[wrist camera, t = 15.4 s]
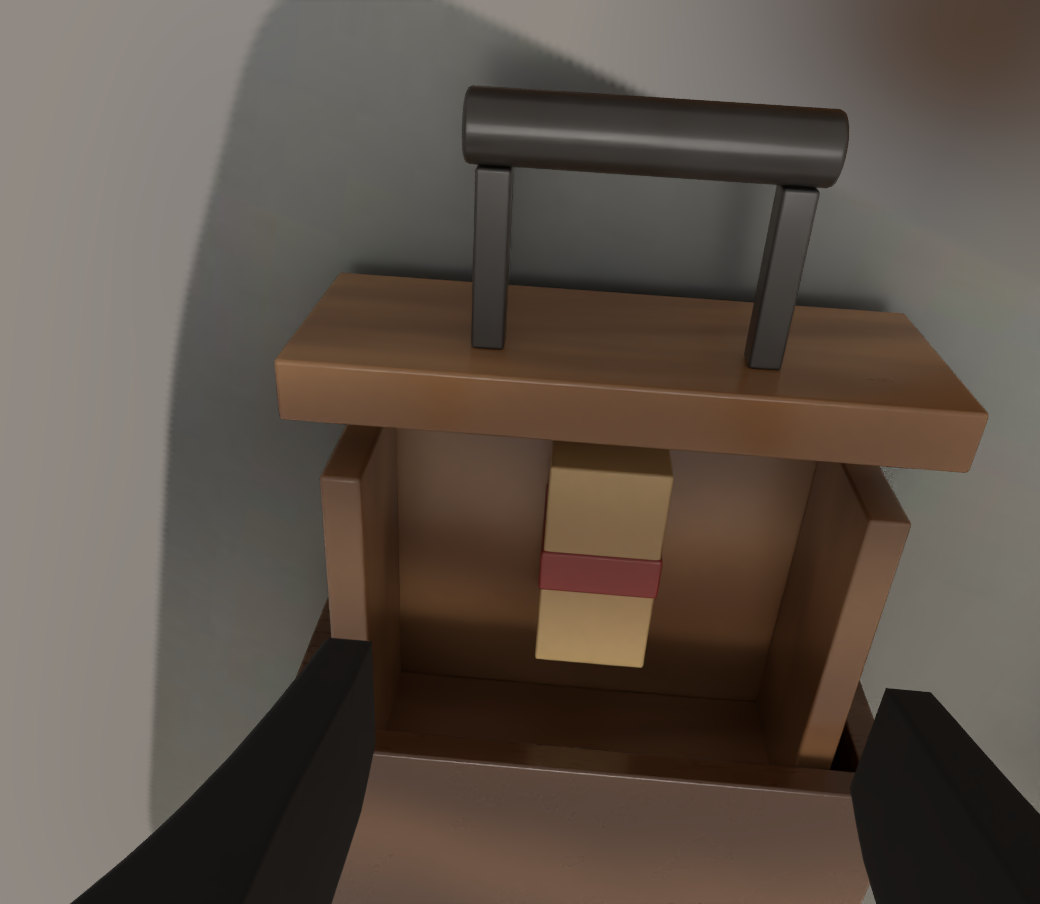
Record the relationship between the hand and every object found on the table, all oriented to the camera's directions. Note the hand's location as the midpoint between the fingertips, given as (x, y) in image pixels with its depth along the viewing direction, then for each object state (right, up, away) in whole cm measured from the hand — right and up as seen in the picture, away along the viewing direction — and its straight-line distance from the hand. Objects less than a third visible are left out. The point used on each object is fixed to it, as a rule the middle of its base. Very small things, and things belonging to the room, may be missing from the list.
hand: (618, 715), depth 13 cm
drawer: (+1, +4, +8) cm, 9 cm away
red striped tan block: (0, +2, +8) cm, 8 cm away
